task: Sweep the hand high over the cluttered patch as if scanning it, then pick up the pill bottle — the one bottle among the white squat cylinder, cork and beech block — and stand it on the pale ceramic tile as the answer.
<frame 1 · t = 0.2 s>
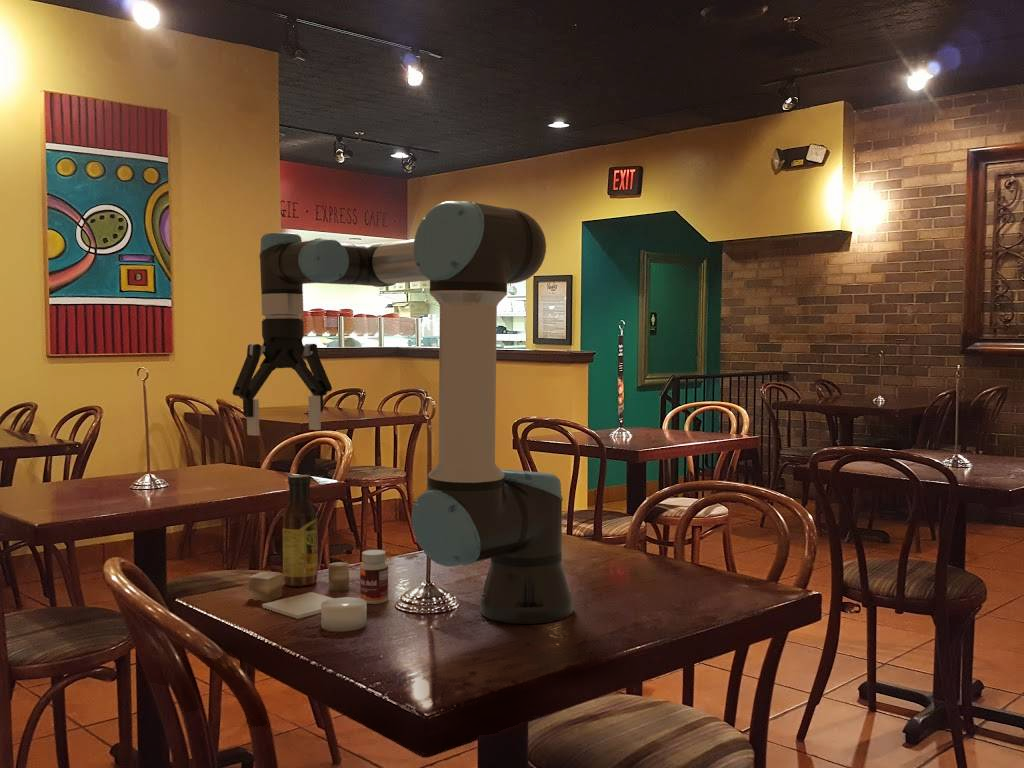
hand: (285, 432, 175), 28 cm above the table, fingers open, 13 cm apart
tile: (304, 606, 158), on the table
beech block: (265, 598, 164), on the table
white squat cylinder: (344, 625, 148), on the table
cork: (339, 588, 169), on the table
pill bottle: (374, 601, 161), on the table
sauce bottle: (300, 584, 173), on the table
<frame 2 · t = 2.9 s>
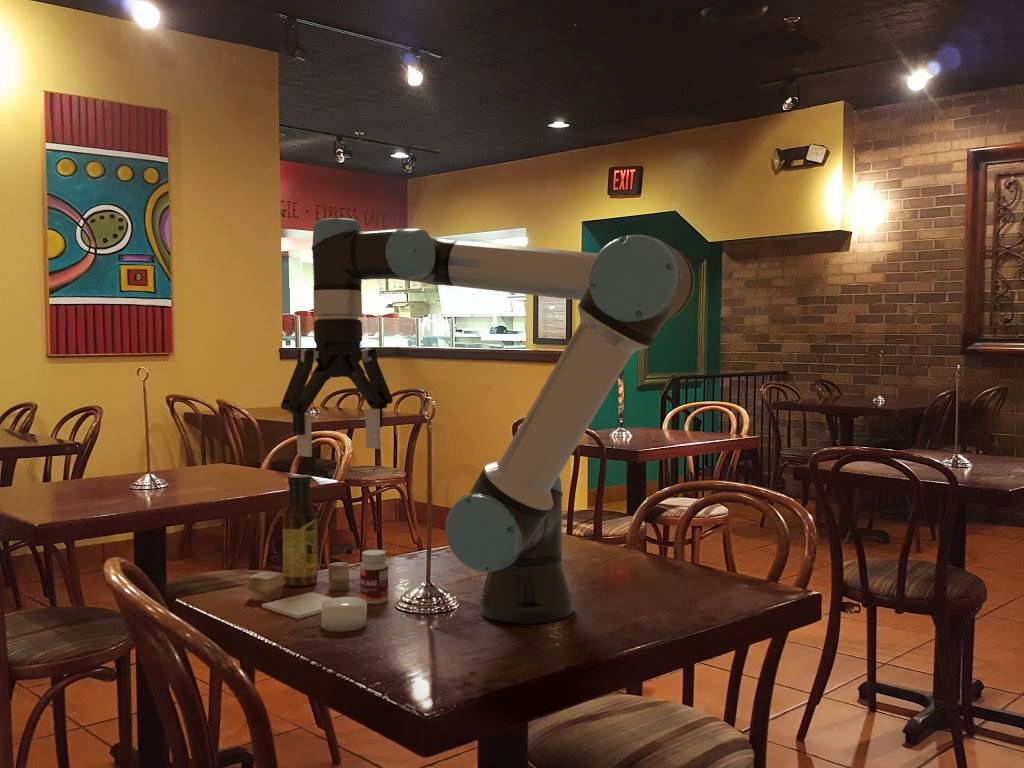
hand: (339, 452, 150), 27 cm above the table, fingers open, 13 cm apart
nothing on the table moved.
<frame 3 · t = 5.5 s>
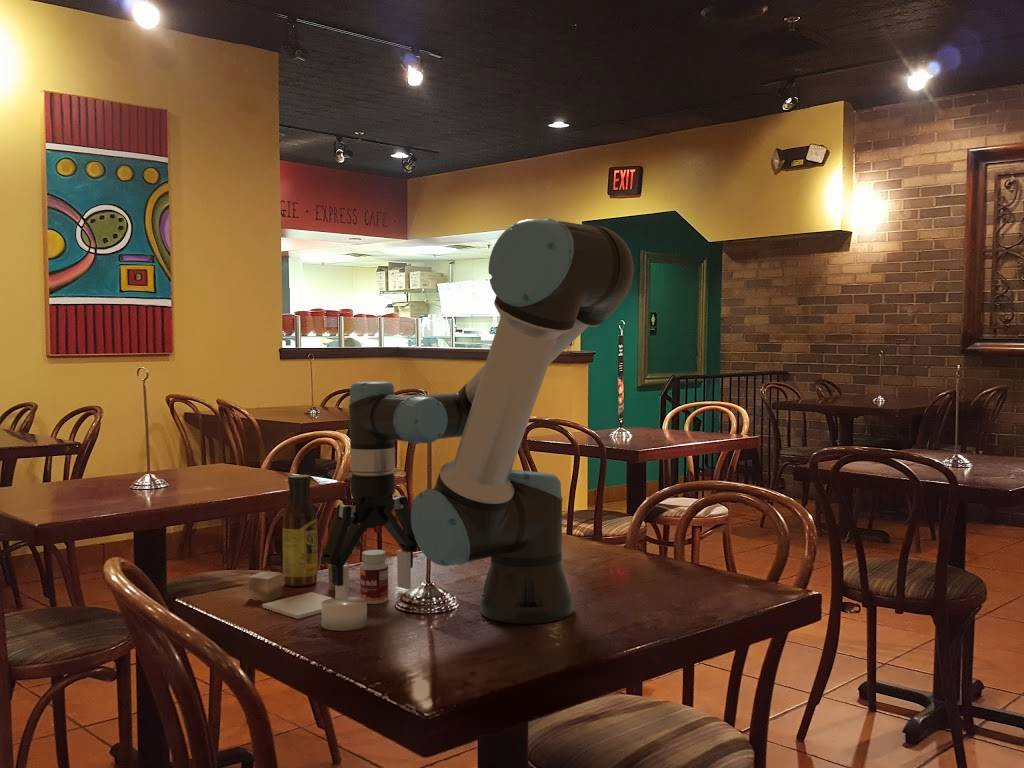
hand: (374, 595, 161), 1 cm above the table, fingers open, 13 cm apart
nothing on the table moved.
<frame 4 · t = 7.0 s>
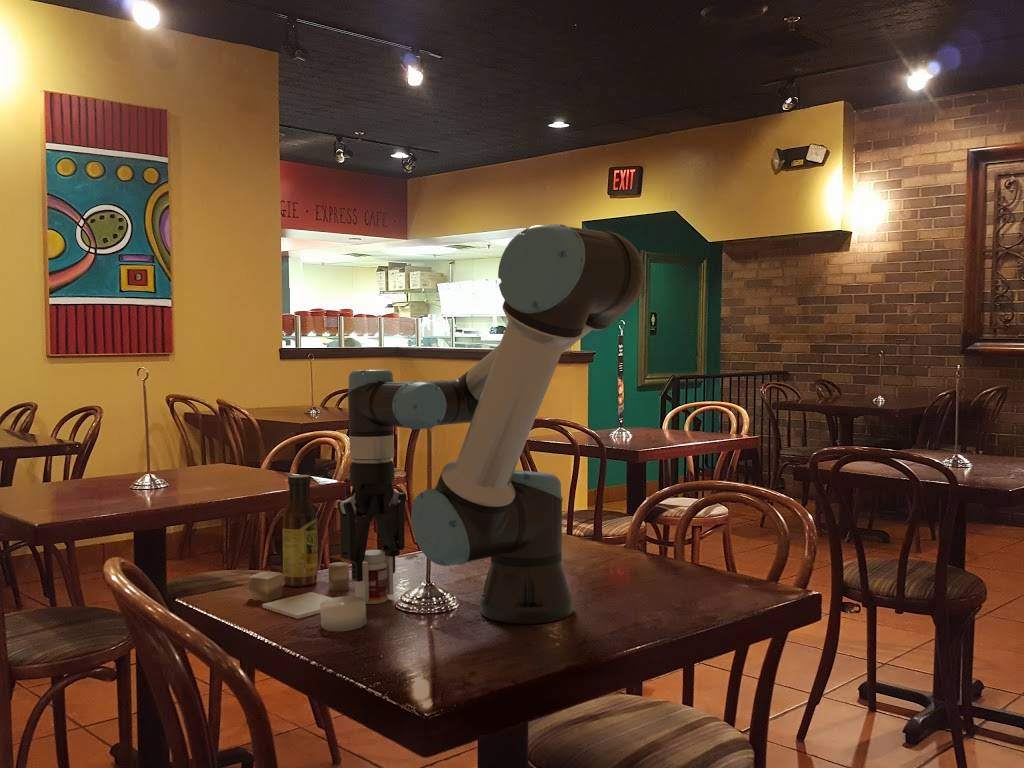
hand: (374, 596, 161), 1 cm above the table, fingers closed on pill bottle, 5 cm apart
pill bottle: (373, 601, 161), on the table, touching gripper
everything else where it was.
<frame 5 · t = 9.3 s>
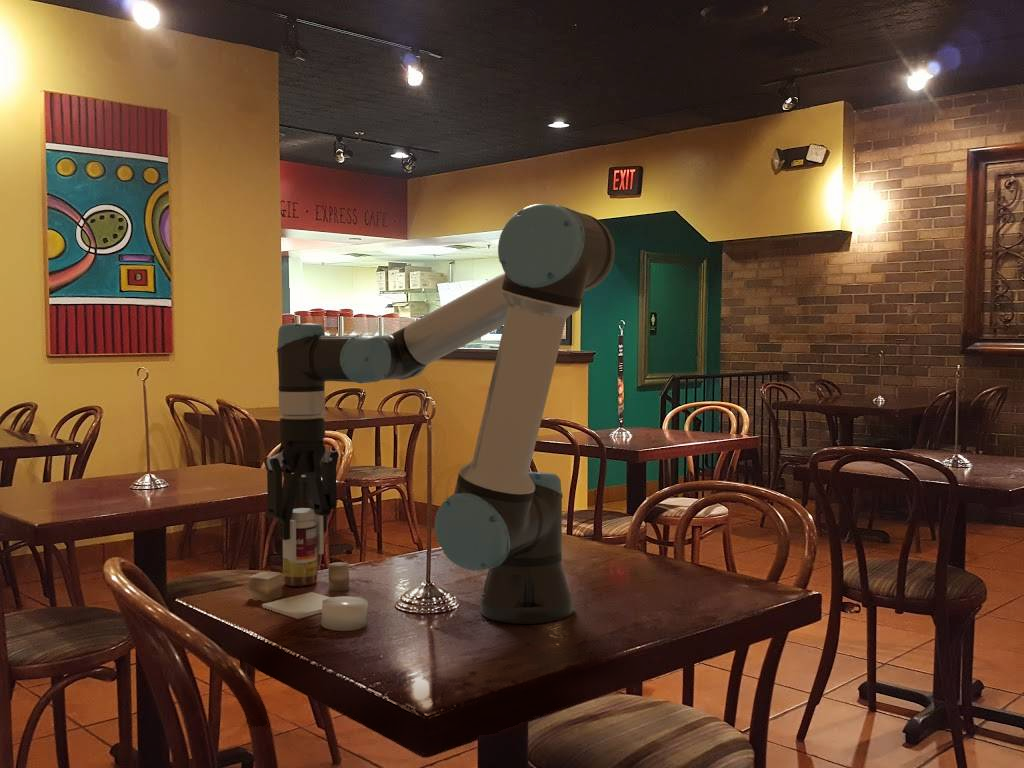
hand: (303, 555, 157), 9 cm above the table, fingers closed on pill bottle, 5 cm apart
pill bottle: (302, 560, 158), point 8 cm above the table, touching gripper
everything else where it was.
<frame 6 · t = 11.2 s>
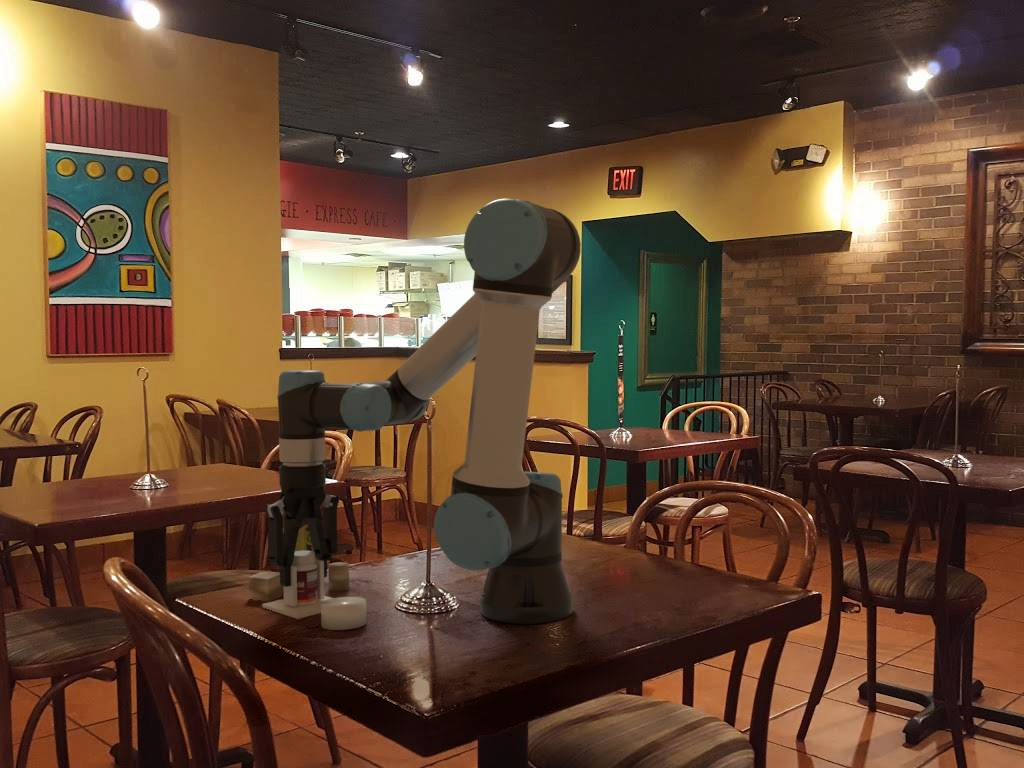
hand: (304, 600, 158), 1 cm above the table, fingers closed on pill bottle, 5 cm apart
pill bottle: (303, 603, 158), resting on tile, touching gripper
everything else where it was.
when the fingers open (1 cm above the table, at t = 11.3 s): pill bottle stays where it is, resting on tile.
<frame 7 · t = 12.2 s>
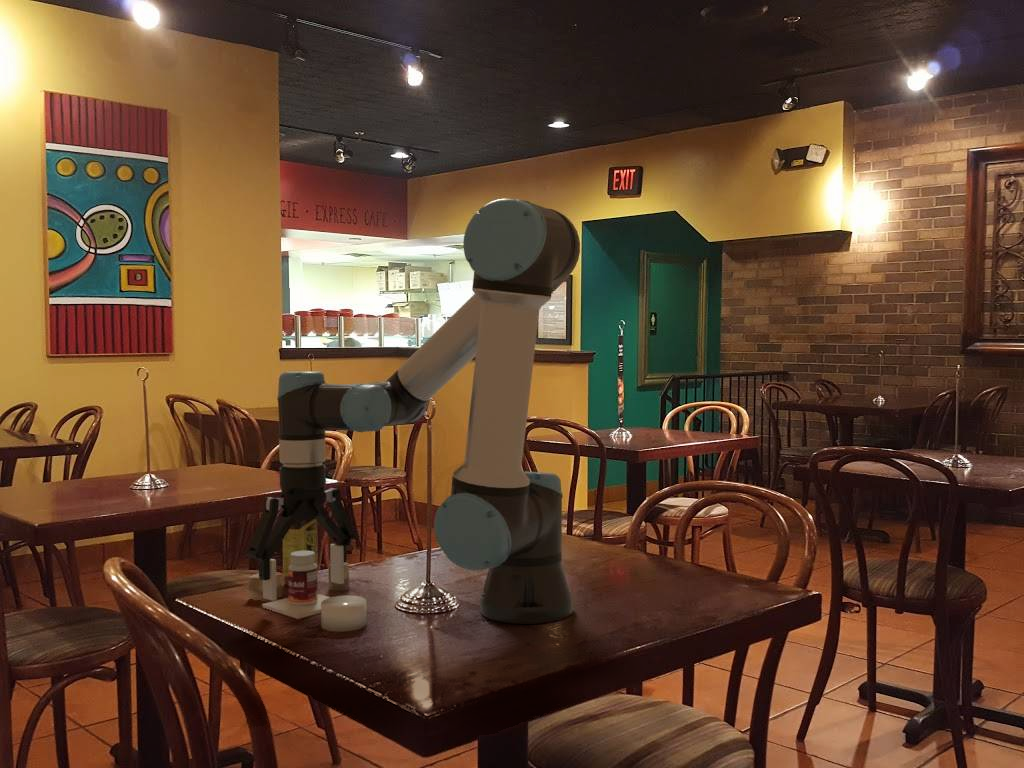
hand: (304, 590, 158), 3 cm above the table, fingers open, 13 cm apart
pill bottle: (303, 603, 158), resting on tile
everything else where it was.
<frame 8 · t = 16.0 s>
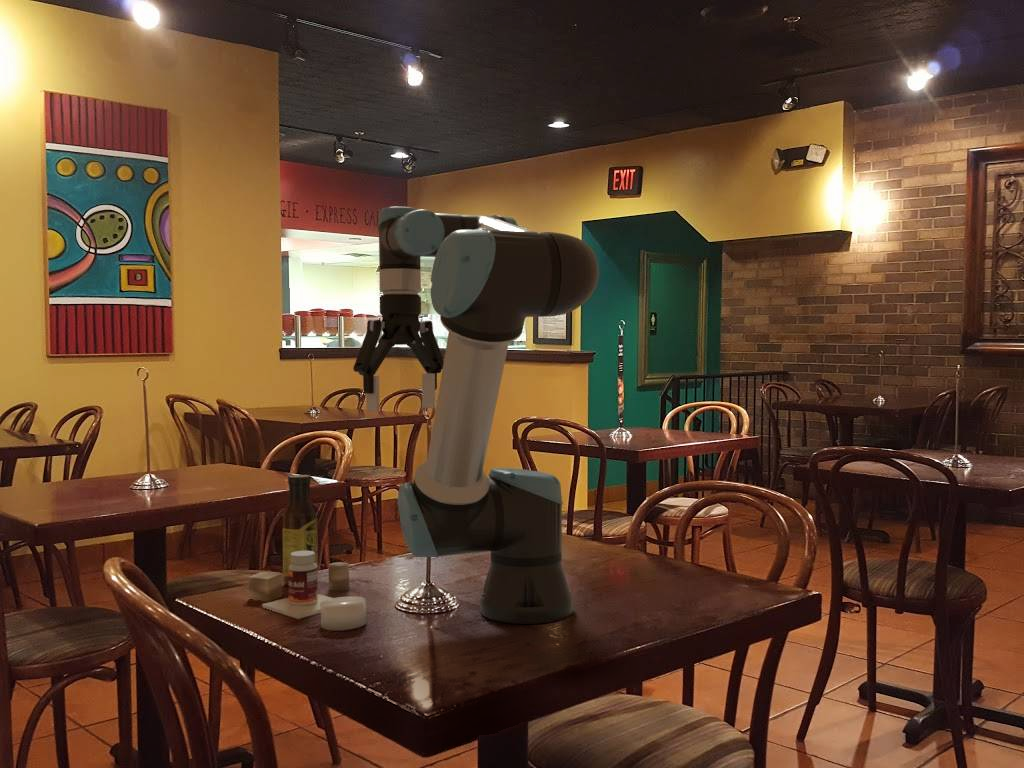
hand: (401, 410, 173), 32 cm above the table, fingers open, 13 cm apart
nothing on the table moved.
at the end: pill bottle inside the target area on the tile (0.5 cm from its centre), point 0.4 cm above the tile's base; pill bottle tilted 0°; the gripper is holding nothing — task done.
